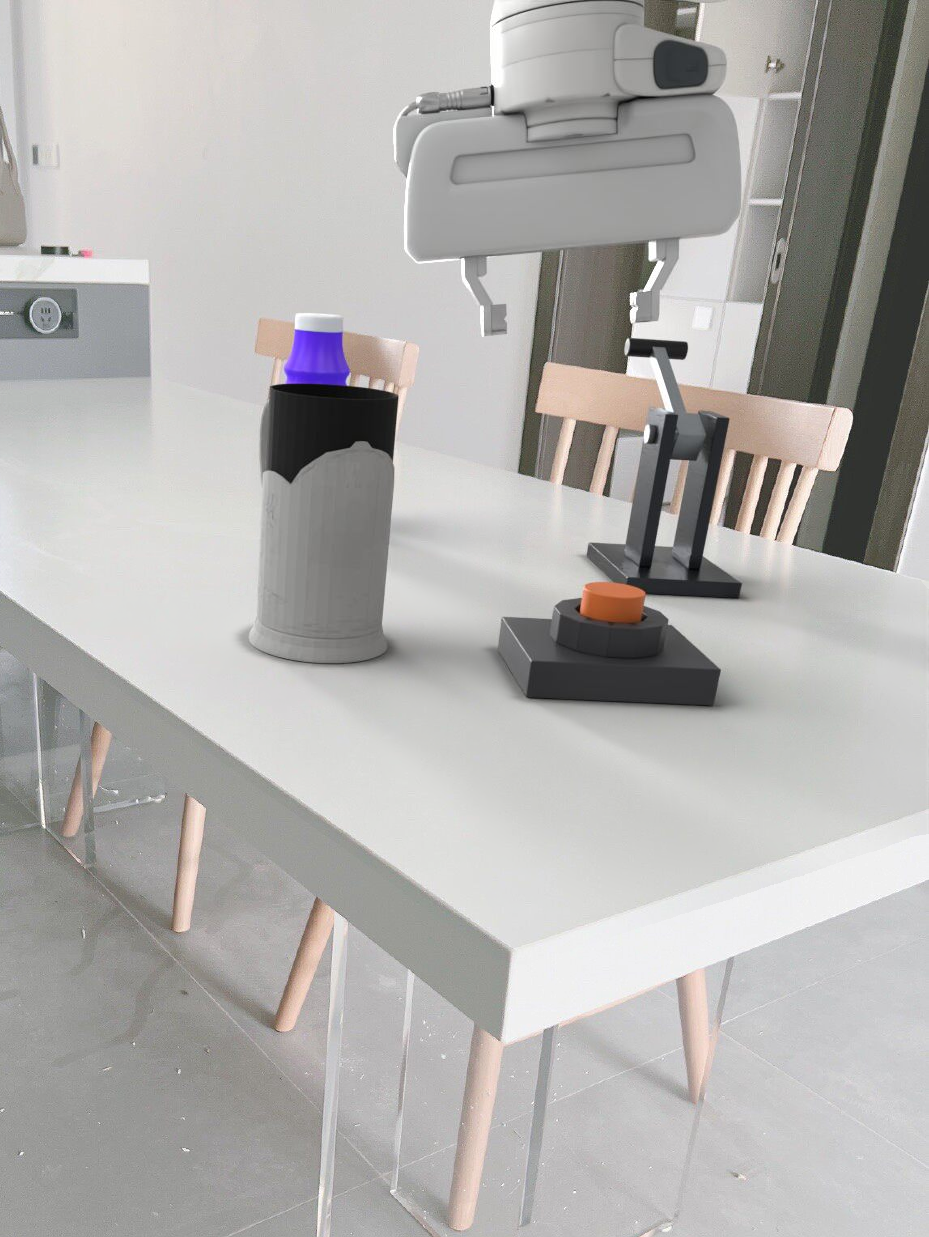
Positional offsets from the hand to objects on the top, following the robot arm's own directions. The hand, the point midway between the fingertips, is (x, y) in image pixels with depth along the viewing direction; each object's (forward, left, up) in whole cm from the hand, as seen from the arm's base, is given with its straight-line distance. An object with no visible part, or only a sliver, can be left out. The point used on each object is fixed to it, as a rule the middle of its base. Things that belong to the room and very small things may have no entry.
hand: (569, 328), depth 77 cm
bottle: (+14, -29, -19) cm, 37 cm away
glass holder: (+16, +5, -19) cm, 26 cm away
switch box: (-2, +12, -19) cm, 23 cm away
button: (-2, +12, -15) cm, 20 cm away
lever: (-14, -20, -6) cm, 25 cm away
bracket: (-14, -15, -19) cm, 28 cm away
